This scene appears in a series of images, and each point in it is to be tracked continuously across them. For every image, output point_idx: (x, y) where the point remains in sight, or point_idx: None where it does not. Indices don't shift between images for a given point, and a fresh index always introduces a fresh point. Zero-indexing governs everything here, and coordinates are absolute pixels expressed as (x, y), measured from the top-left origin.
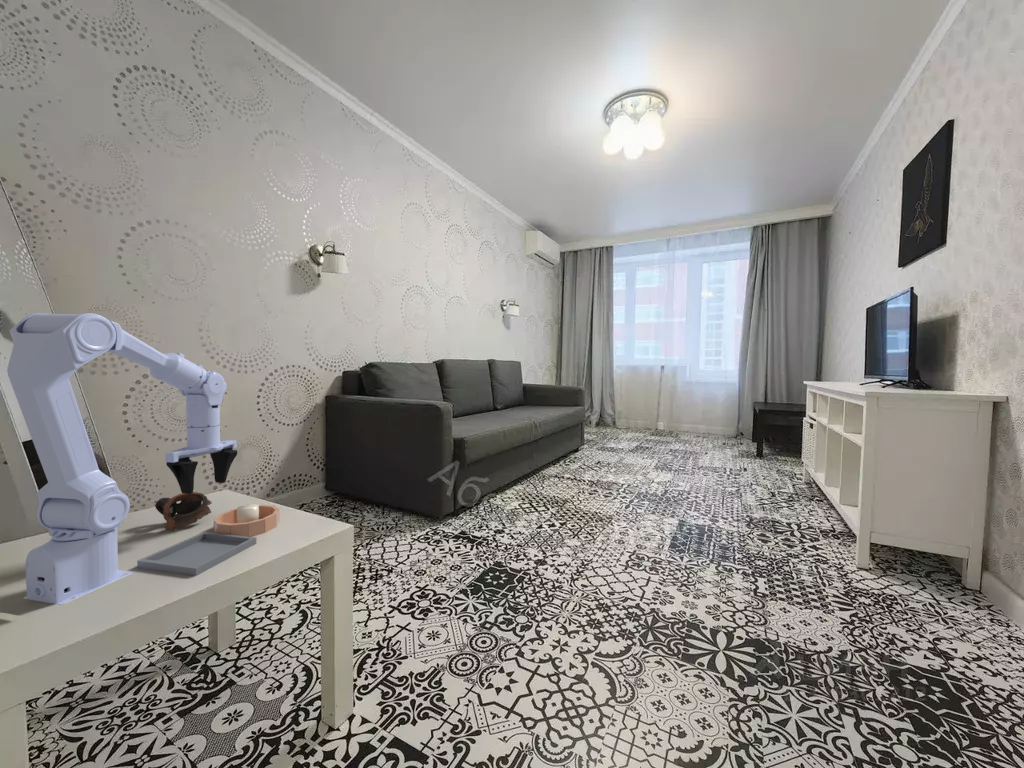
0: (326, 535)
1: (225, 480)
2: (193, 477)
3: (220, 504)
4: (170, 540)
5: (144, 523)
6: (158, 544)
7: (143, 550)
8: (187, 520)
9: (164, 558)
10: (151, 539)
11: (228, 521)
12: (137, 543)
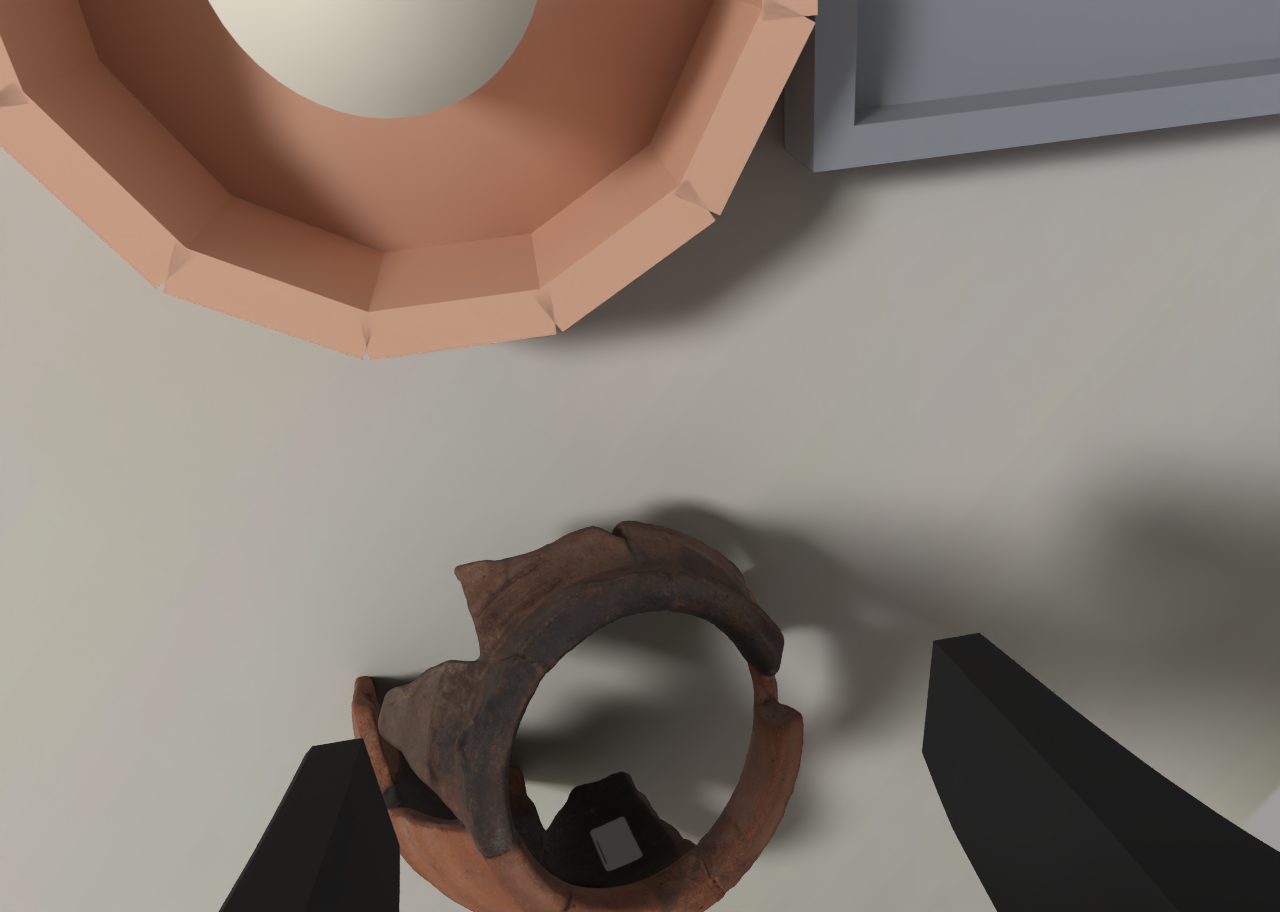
0: None
1: (312, 767)
2: (1119, 836)
3: (116, 846)
4: (852, 439)
5: None
6: (934, 444)
7: (1042, 430)
8: (690, 564)
9: (1260, 29)
10: (865, 580)
11: (463, 254)
12: (941, 589)
